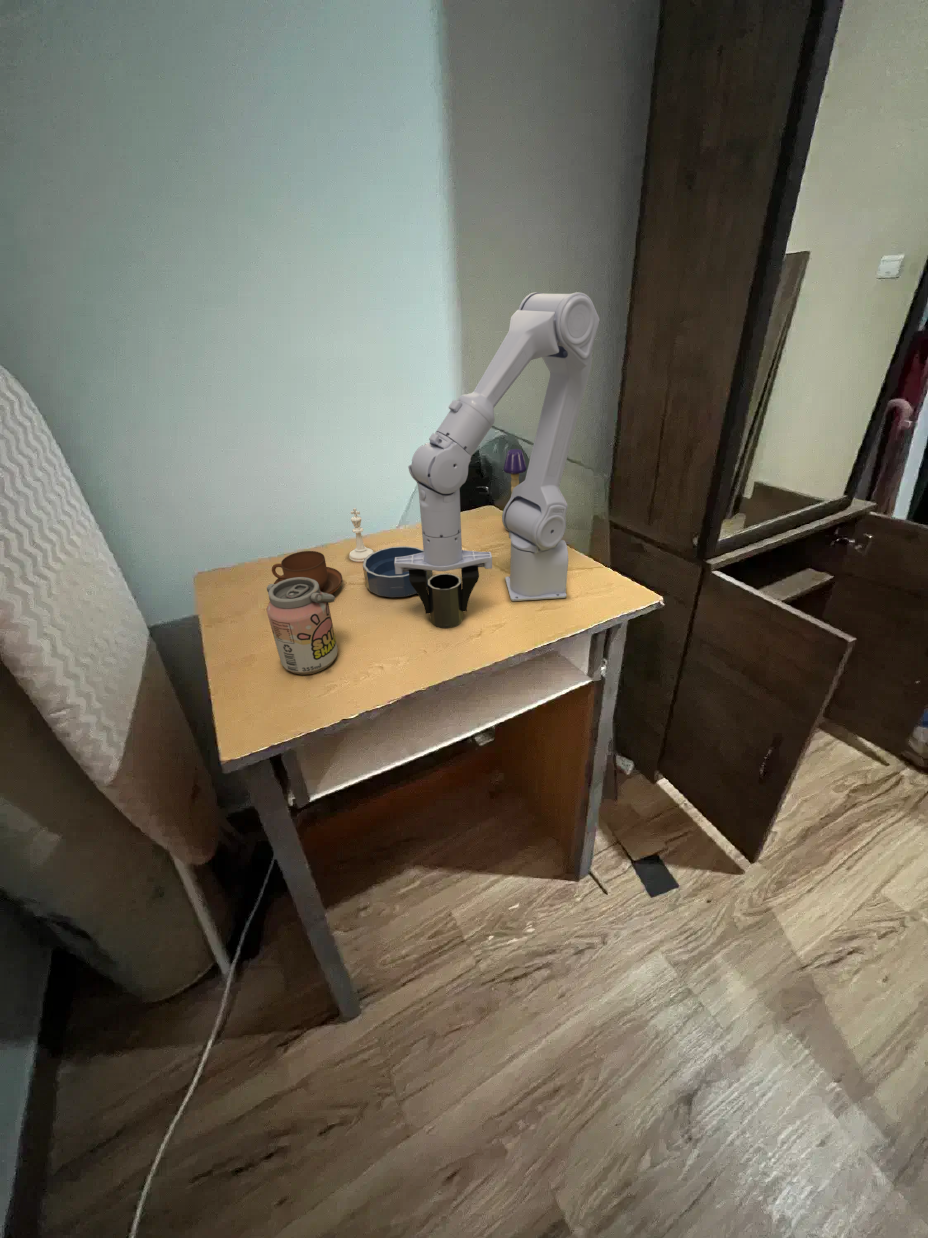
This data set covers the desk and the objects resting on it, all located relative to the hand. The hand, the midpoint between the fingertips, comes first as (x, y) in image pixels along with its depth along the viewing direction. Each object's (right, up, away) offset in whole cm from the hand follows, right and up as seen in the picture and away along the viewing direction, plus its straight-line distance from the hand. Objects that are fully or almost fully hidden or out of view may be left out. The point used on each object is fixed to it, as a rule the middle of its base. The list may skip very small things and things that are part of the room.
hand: (446, 609), depth 84 cm
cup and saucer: (-25, +3, +10) cm, 27 cm away
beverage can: (-19, -7, -6) cm, 22 cm away
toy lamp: (+14, +18, +31) cm, 38 cm away
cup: (0, -2, +1) cm, 2 cm away
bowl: (-9, +5, +12) cm, 15 cm away
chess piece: (-18, +11, +21) cm, 30 cm away
